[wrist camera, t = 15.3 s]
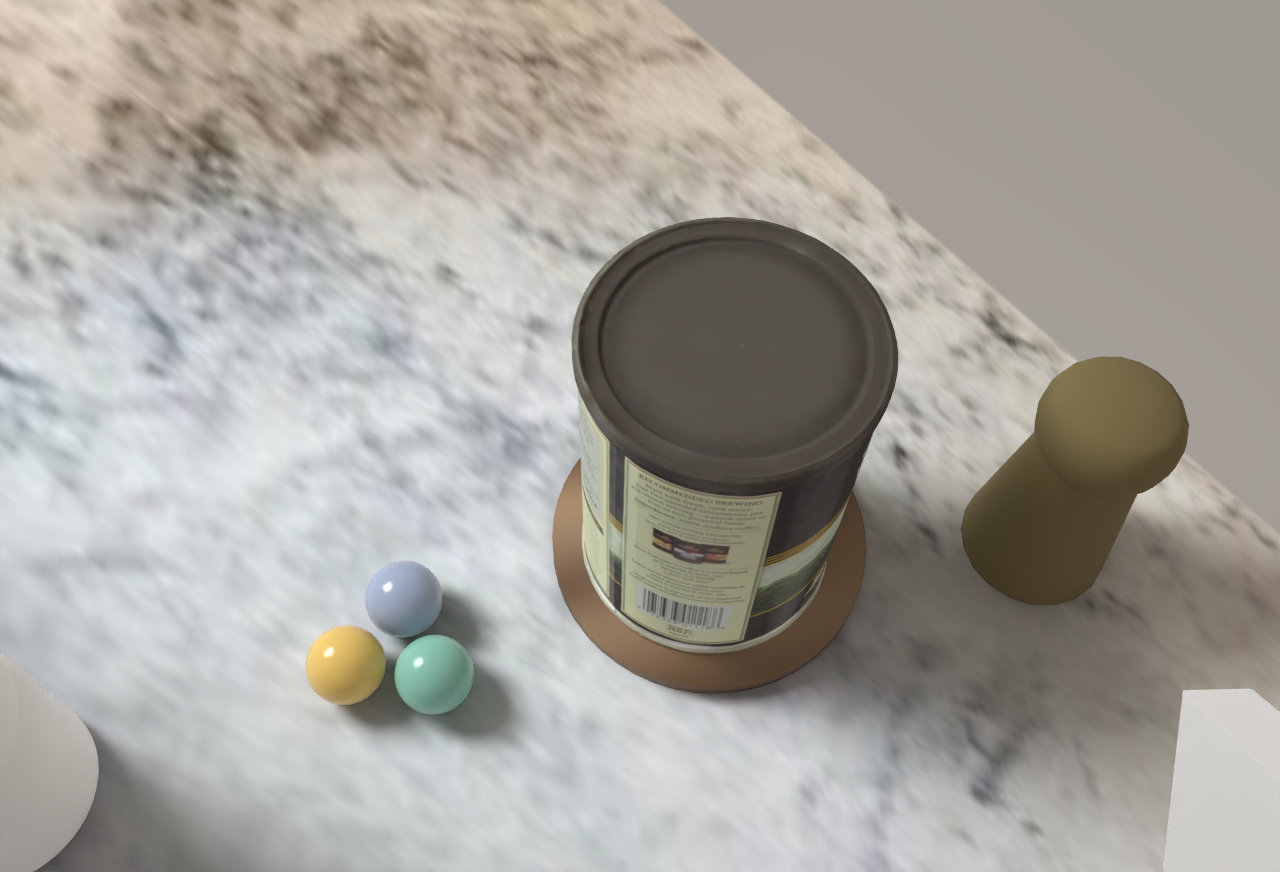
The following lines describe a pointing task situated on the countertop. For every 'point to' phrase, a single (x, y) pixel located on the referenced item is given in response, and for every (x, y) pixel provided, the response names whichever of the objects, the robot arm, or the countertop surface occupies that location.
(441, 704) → the marble green
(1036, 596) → the cork
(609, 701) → the countertop surface
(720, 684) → the trivet
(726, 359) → the coffee can
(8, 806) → the water bottle
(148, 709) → the countertop surface
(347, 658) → the marble amber
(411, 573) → the marble blue
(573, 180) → the countertop surface
